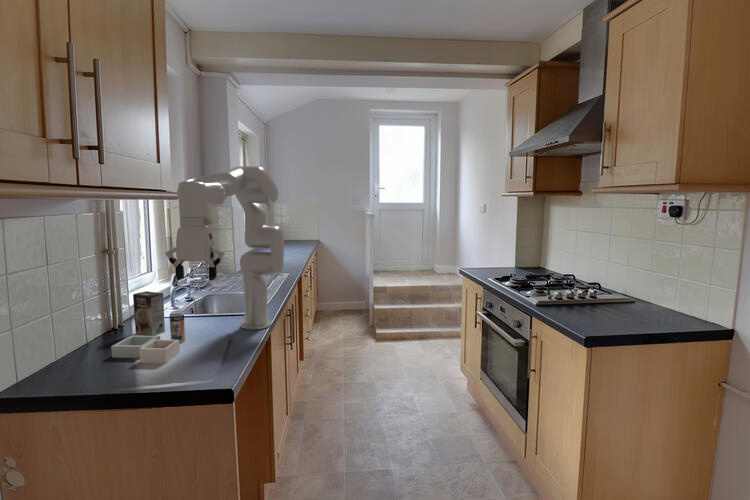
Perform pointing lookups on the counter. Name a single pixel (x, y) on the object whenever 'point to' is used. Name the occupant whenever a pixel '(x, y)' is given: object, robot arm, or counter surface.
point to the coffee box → (149, 313)
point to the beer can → (177, 326)
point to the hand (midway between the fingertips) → (196, 279)
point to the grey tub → (131, 346)
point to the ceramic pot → (159, 351)
